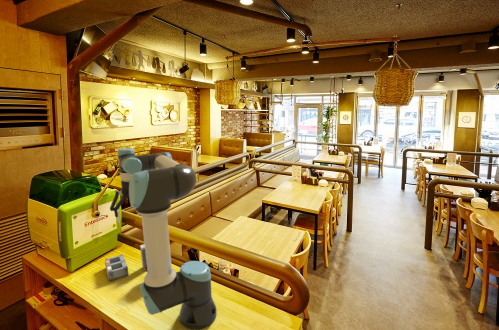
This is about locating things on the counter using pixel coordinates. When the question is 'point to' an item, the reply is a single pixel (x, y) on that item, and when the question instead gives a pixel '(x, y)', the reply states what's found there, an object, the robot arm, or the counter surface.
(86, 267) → the counter surface
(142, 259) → the plug
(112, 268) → the port box
